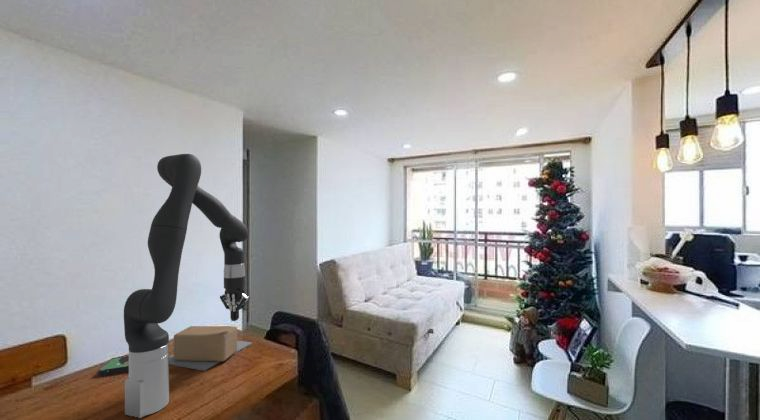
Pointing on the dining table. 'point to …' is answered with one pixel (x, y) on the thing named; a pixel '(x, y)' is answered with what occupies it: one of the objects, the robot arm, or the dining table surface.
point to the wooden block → (205, 343)
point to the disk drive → (115, 366)
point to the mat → (204, 364)
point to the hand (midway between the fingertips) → (234, 320)
